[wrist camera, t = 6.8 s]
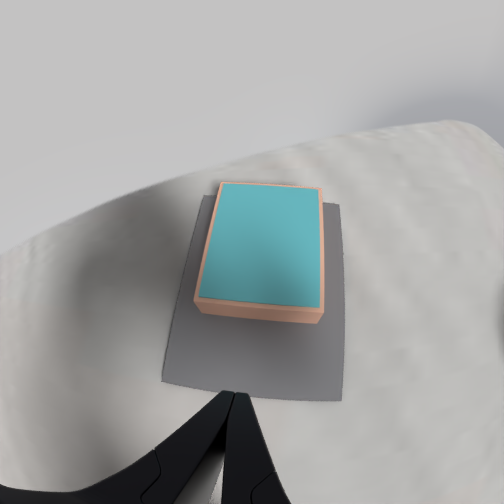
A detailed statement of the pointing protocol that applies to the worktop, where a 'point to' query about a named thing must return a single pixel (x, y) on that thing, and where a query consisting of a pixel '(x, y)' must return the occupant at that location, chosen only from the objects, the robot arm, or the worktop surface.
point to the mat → (260, 334)
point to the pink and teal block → (264, 254)
